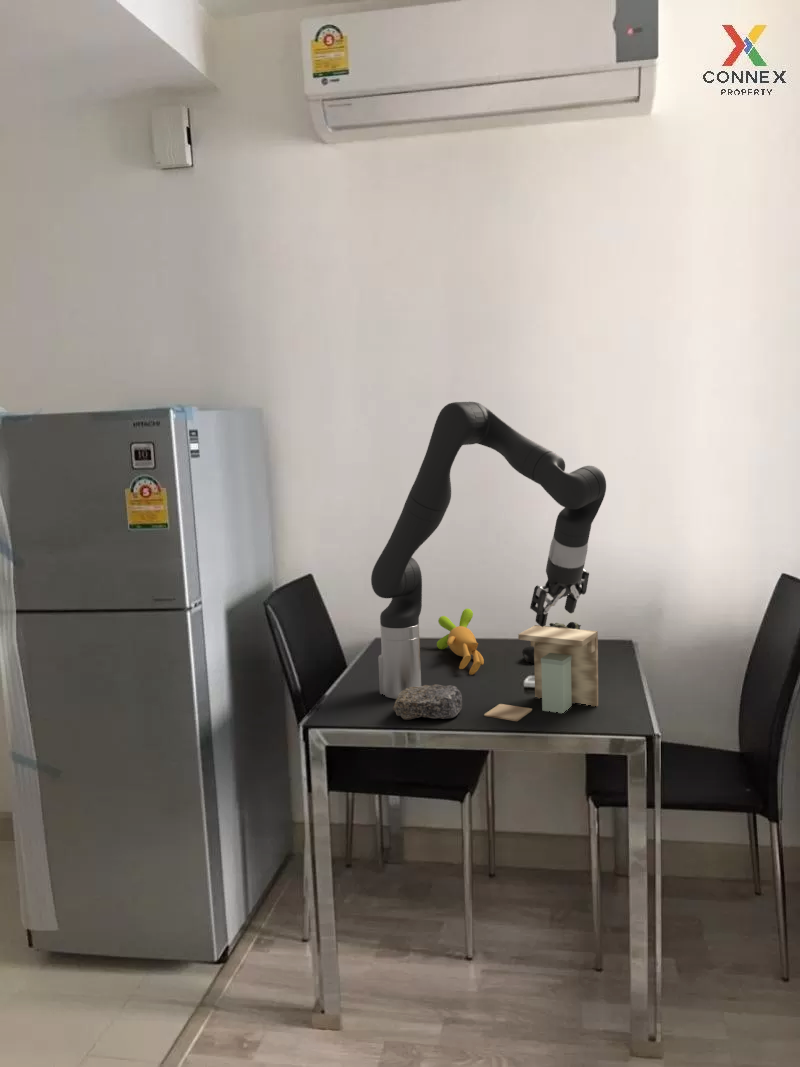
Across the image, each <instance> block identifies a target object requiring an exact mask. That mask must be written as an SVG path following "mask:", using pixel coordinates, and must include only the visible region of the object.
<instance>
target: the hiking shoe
mask: <svg viewBox="0 0 800 1067" xmlns="http://www.w3.org/2000/svg"><path fill="white" fill-rule="evenodd" d="M548 625H549V626H550V627H561V628H571V629H581V626H582V625H581V624H579V623H577V622H575V621H574V622H573V621H571V622H569V623H567V624H566V625H565V624H564V623H560V622H555V623H553V622H550V623H549V624H548ZM521 653H522V657H523V658H524V660H526V661H525V662H527V663H529V662H531V663H530V664H534V647H533V646H531V645H526V646H525V647H523V649H522V651H521Z"/></svg>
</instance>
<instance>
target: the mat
mask: <svg viewBox="0 0 800 1067" xmlns="http://www.w3.org/2000/svg"><path fill="white" fill-rule="evenodd" d="M532 711H533V708H530V707H524V706H518V705H510V704H504V703H499V704H497V705H496V706H495V707H492V709H490V710H489V711H487V712H485V713H484V714H483V716H484V717H489V718H495V719H501V720H507V721H512V722H518V721H520V720H522V719H523V718H524V717H526V716H527V715H528V714H529V713H531V712H532Z"/></svg>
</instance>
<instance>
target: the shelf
mask: <svg viewBox="0 0 800 1067" xmlns="http://www.w3.org/2000/svg"><path fill="white" fill-rule="evenodd" d="M598 632H599V631H597V630H589V629H581V628H580V629H571V628H561V627H550V625H549V626H548V625H545V626H544V627H541V626H540V625H539V624H534V625H533V626H531V627H529V628H528V629H525V630H523V631H521V632H520V633H518V636H517V638H518V640H520V641H528V642H529V641H530V646H533V647H534V663H533V664H534V698H535V697H538V698H537V699H540V698H542V665H541V658H542V657H544V656H546V655H547V654H549V653H556V654H565V655H572V660H571V692H572V702H575V703H581V704H586V705H585V706H588V705H591V706H590V707H595V706H596V708H597V707H599V640H598V639H599V637H598V636H599V635H598ZM575 703H574V704H575ZM581 704H580V705H581Z"/></svg>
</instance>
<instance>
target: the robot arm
mask: <svg viewBox="0 0 800 1067" xmlns="http://www.w3.org/2000/svg"><path fill="white" fill-rule="evenodd" d="M476 444H477V445H481V446H484V447H487V448H489V449H491V450H493V451H495V452H497V453H499V454H500V455H501V456H502V457H503V458H504V459H505V460H506V461H507V462H508V464H509V465H510V466H511V467H512V468H513V469H514V470H515V471H516V472H517V473H519V474H521V475H522V476H523V477H526V478H527V479H529V480H531V481H532V482H534V483H535V484H538V485H540V486H541V487H542V488H543V490H544V492H546V493H547V494H548V495H549V496H550V497H551V498H552V499H553V501H555V502H556V503H557V504H558V505H560V506H561V507H563V508H562V509H561V510H560V511H559V513H558V515H557V518H556V521H555V526H554V532H553V534H552V535H553V536H552V539H551V542H550V545H549V550H548V557H547V561H546V569H545V573H546V575H547V581H546V582H545V584H544V585H543V586H539V585H538V584H537V585H535V587H534V588H533V592H532V593H533V594H532V598H531V603H530V607H529V609H530V610H532V611H533V612H535V613H536V614H535V623H536V624H537V625H540V626H541V627H544V626H547V625H546V624H547V620H548V615H549V613H548V612H549V611H550V609H551V608H552V607H554V606H556V604H557V603H558V601H559V600H560V599H562V598H565V597H566V600H565V603H564V604H565V605H564V609H565V611H566V612H568V613H569V614H573V613H575V609H576V607H577V602H578V600H579V599H580V596H581V595H583V596H584V595H585V594H586V593H587V588H588V584H589V576H590V572H589V571H587V570H586V569H584V568H585V564H586V559H587V554H588V548H589V547H588V546H589V540H590V539H589V538H590V534H591V528H592V524H593V523H594V520H595V518H596V516H597V514H598V512H599V510H600V508H601V505H602V503H603V501H604V499H605V496H606V491H607V480H606V477H605V474H604V473H603V472H602V470H601V469H600V468H599V467H597V466H595V465H585V466H582V467H579V468H577V469H575V470H573V471H570V472H566V471H565V470H566V461H565V460H564V458H562V456H561V455H559V454H557V453H556V452H554V451H552V450H550V449H549V448H547V447H545V446H543V445H541V444H540V443H537V442H535V441H533V439H530V438H528V437H526V436H525V435H523V434H522V433H520V432H519V431H517V430H516V429H514V428H512V426H510V425H509V424H507V423H506V422H505V421H503V420H502V419H501V418H500V417H498V416H497V415H496V414H495V413H494V412H493V411H491V410H490V409H489V408H488V407H487V406H485V405H483V404H481V403H479V402H478V401H477V402H475V401H455V402H454V401H453V402H450V403H448V404H446V405H444V406H443V408H442V409H441V410H440V411H439V413H438V416H437V418H436V421H435V423H434V426H433V429H432V432H431V436H430V439H429V442H428V446H427V449H426V452H425V454H424V458H423V460H422V463H421V465H420V468H419V470H418V473H417V474H416V477H415V480H414V482H413V484H412V486H411V489H410V490H409V494H408V496H406V500H405V502H404V505H403V508H402V511H401V513H400V515H399V517H398V519H397V522H396V524H395V526H394V528H393V530H392V533H391V535H390V537H389V539H388V540H387V543H386V545H385V546H384V548H383V550H382V552H381V553H380V555H379V557H378V558H377V560H376V562H375V564H374V566H373V569H372V572H371V576H370V577H371V578H370V580H371V581H370V582H371V588H372V590H373V592H374V594H375V595H376V596H377V597H379V598H381V599H391V601H390V603H389V604H388V606H386V608H385V609H383V610H382V611H381V612H380V616H379V620H380V621H379V622H380V624H379V625H380V642H381V643H380V645H381V653H380V654H379V655H378V678H379V679H378V680H379V681H378V682H379V695H382V694H383V696H384V695H385V696H384V697H386V698H389V699H394V700H396V699H397V697H398V695H399V693H400V692H401V691H403V690H405V689H406V688H410V687H420V686H422V673H421V672H422V671H421V670H422V668H421V666H422V665H421V643H420V642H421V640H420V639H421V638H420V615H421V613H422V606H423V605H422V601H423V600H422V599H423V598H422V597H423V578H422V577H423V576H422V571H421V568H420V565H419V564H418V562H417V561H416V559H415V558H413V555H414V554H415V552H417V550H418V549H419V548H420V547H421V546H422V545H423V543H425V542H426V541H427V540H428V539H429V538H430V537H431V536H432V535H433V533H434V532H436V530H437V529H438V527H439V526H440V524H441V522H442V520H443V518H444V517H445V514H446V512H447V510H448V508H449V505H450V502H451V499H452V484H451V483H452V482H451V470H452V466H453V463H454V461H455V459H456V457H457V455H458V454H459V451H460V449H461V448H462V447H463V446H468V445H470V446H471V445H476ZM548 595H549V596H550V597H551V598H552V599H550V598H548ZM545 603H546V605H545Z"/></svg>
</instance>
